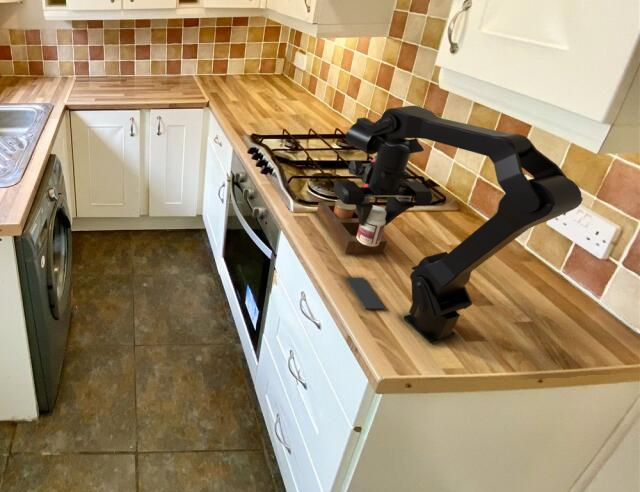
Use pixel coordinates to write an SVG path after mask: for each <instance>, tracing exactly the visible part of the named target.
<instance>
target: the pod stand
mask: <svg viewBox="0 0 640 492" xmlns="http://www.w3.org/2000/svg"><path fill="white" fill-rule="evenodd" d="M335 202H336V201H319V202H318V205H317V209H316V212H315V214H316V216H317V217H318V219H319V220H320V221H321V223H322V224H323V225H324V227H325V228H326V230H327V232H328V233H329V234H330V236H331V237H332V238H333V240H334V241H335V242H336V244H337V245H338V247H339V248H340V249H341V251H342V252H343V253H344V255H383V254H384V252H385V249H386V246H387V243H388V240H386V238H385V237H384V236H383V235H382V237H381V240H380V243H379V245H377V246H367V245H364V244H362V243H360V242H359V241H358V239H357V236H352V235H357V233H358V229H359V225H360V223H359V219H358V213H357V207H356V208H355V210H354V213H353V216H352V218H337V217H336V216H335V214H334V213H333V212H334V208H335Z"/></svg>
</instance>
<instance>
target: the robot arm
mask: <svg viewBox="0 0 640 492" xmlns="http://www.w3.org/2000/svg"><path fill="white" fill-rule="evenodd" d="M419 139H421V140H428V141H432V142H436V143H439V144H443V145H445V146H446V145H447V146H449V147H454V148H457V149H460V150H465V151H467V152H471V153H474V154H479V155H482V156H486V157H488V159H490V161H491V162H492V164H493V167H494V171H495V176H496V181H497V184H498V185H499V186H500V188H501V189H502V191H503V193H504V194H503V196H502V197H501V198H500V200H499V202H498V206H497V209H496V212H495V214H493V216H491V217H490V218H489V219H487V221H485V222H484V223H483V224H482V225H481V226H479V227H478V228H477V229H476V230H475V231H473V232H472V233H471V234H470V235H469V236H467V237H466V238H465V239H464V240H463V241H461V242H460V243H459V244H458V245H457V246H455V247H454V248H453V249H452V250H451V251H449V252H447V251H443V252H439V253H435V254H432V255H428V256H424V257H423V258H422V259H420V261H419V263H418V264H417V265H415V266H411V267H410V269H411V270H413V271H412V272H411V273H410V274H409V279H410V281H411V301H412V303H411V306H410V308H409V311H408V313H409V314H406V315H404V316H403V320H404V321H405V322H407V324H408V325H409V326H411V328H413V329H414V331H416V332H417V333H418V334H419V335H420V336H422V337H423V338H424V340H426V341H427V342H428V343H429V344H437V343H439V342H443V341H445V340H449V339H452V338H455V337H456V336H457V334H456V332H455V331H454V328H455V327H456V325H457V323H458V320H459V319H460V317H461V315H460V313H458V312H459V311H461V310H466V309H468V308H469V307H471V306H473V301H472V299H471V297H470V294H469V293H468V290H467V288H466V285H467V284H468V283H469V282H470V279H471V274H472V272H473V271H474V270H475V269H477V268H478V267H479V266H481V265H482V264H483V263H485V262H486V261H487V260H489V259H490V258H491V257H493V256H494V255H496V254H497V253H498V252H500V251H501V250H502V249H504V248H505V247H507V246H508V245H509V244H510V243H512V242H513V241H515V240H516V239H517V238H519V237H520V236H521V235H523V234H524V233H525V232H527V231H528V230H530V229H531V228H533V227H536V226H538V225H540V224H543V223H546V222H549V221H551V220H553V219H555V218H558V217H561V216H562V215H565V214H566V213H569V212H571V211H573V210H575V209H577V208H579V206H580V205H581V204H582V202H583V200H584V198H583V197H582V191H581V189H580V188H579V185H577V184H576V183H575V181H573V180H572V179H570V178H568V177H567V175H566V174H565V173H564V172H563V170H562V169H561V167H559V166H558V164H556V163H555V162H554V161H553V160H552V159H550V157H547V156H546V155H545V154H543V153H542V152H541V151H539V149H537V148H536V147H535V145H534V144H533V142H532V141H531V140H530V139H529V138H528V137H527V136H525V135H522V134H520V133H508V132H504V131H500V130H495V129H490V128H486V127H482V126H477V125H473V124H468V123H464V122H459V121H455V120H451V119H447V118H443V117H440V116H438V115H436V113H434V112H433V111H432V110H429V109H426V108H424V107H422V106H419V105H406V106H398V107H390V108H387V109H386V110H385V111H383V113H382V115H381V118H379V119H377V120H376V121H372V120H370V119H369V118H367V117H365V116H364V117H358V118H357V119H356V122H354V124H352V125H351V126H350V127H349V128H348V131H346V133H345V141H346V143H347V144H348V145H350V146H352V147H355V148H356V149H358V150H360V151H362V152H364V153H366V154H368V155H375V154H376V155H377V156H376V155H375V156H376V159H375V162H371V161H370V162H369V163H363V162H362V161H361V160H350V162H349V164H348V173H349V174H350V175H353V176H355V178H360V179H362V182H363V184H364V183H365V184H368V187H364V186H362V187H360V186H359V185H358V184H357V183H356V182H355V181H354V180H338V181H336V182H335V183H334V185H333V189H332V192H333V193H334V194H335V196H337V198H338V200H341V201H342V202H343V203H344V204H347V205H355V206H356V207H357V213H358V219H359V223H360V225H361V226H363V225H364V224H365V222H366V220H367V218H368V216H369V214H370V212H371V210H372V208H373V206H374V205H373V204H372V203H371V198H379V197H380V198H386V205H385V207H384V210H385V211H386V212H387V214H386V218H385V220H386V224H385V227H386V226H387V225H389V224H390V223H391V222H393V221H394V220H396V219H397V218H398V217H399V216H400V215H402V214H403V213H404V212H406V211H408V210H409V209H414V207H415V204H416V205H417V206H418V205H419V206H430V205H431V204H432V202H433V200H434V194H433V192H432V191H431V190H430V189H429V188H427V187H426V186H425V185H424V184H422V183H421V182H420V181H417V180H413V181H411V180H405V179H408V178H409V175H410V174H409V173H408V172H407V171H406V169H407V167H408V163H409V160H410V157H411V154H416V153H421V152H424V150H425V149H424V147H423V145H422V144H421V143H420V142H419ZM523 170H524V171H526V173H528V174H530V175H531V176H532V177H533V178H529V179H528V178H527V176H526V175H525V174H524V171H523ZM403 179H404V180H405V181H404V180H403ZM413 197H414V198H413ZM412 198H413V201H414V202H415V204H414V203H413V202H412Z"/></svg>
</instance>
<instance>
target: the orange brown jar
mask: <svg viewBox="0 0 640 492" xmlns="http://www.w3.org/2000/svg"><path fill="white" fill-rule="evenodd" d="M334 202H335V208H334V212H333V213H334V214H335V216H336V217H337V218H352V216H353V213H354V210H355V208H356V205H347V204H344V203H343V202H342V201H341V200H340V199H337V200H336V201H334Z"/></svg>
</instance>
